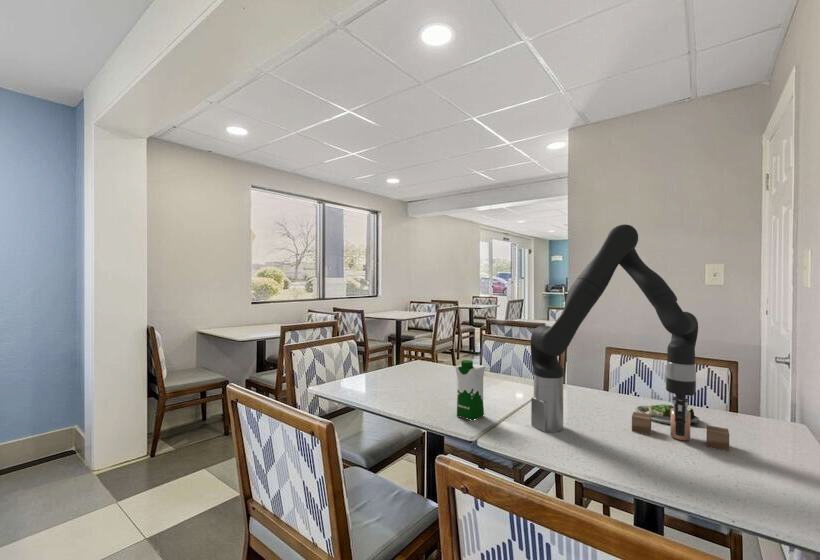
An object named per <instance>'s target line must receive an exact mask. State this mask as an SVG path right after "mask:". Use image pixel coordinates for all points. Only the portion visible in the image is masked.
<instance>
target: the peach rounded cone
mask: <svg viewBox="0 0 820 560" xmlns="http://www.w3.org/2000/svg"><path fill="white" fill-rule="evenodd" d="M690 415H691V412H690V411H688V410H687V416H686V417H685V421H686V423H685V435H684V436H678V435H676V423H675V414H674V413H673V408H672V409H671V424H670V434H669V435H670V437H671V438H673V439H676V440H681V441H690V440H691V425H690ZM677 418H678V419H683V417H681V416H677Z"/></svg>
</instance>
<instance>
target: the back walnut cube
mask: <svg viewBox="0 0 820 560" xmlns="http://www.w3.org/2000/svg"><path fill="white" fill-rule="evenodd" d="M631 432H632V433H633V432H634V433H637V434H638V433H639V434H644V435H648V436H649V435H651V432H652V420H651V415H650V414H649V413H647V414H644V413H639V412H637V411H633V413H632V414H631Z"/></svg>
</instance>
